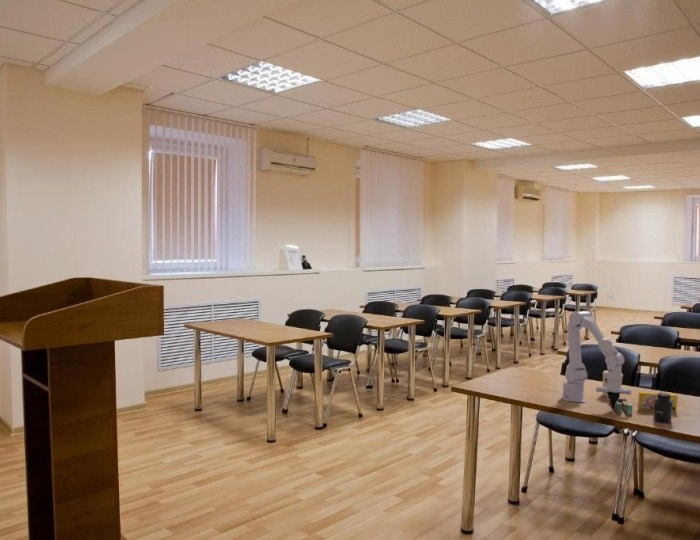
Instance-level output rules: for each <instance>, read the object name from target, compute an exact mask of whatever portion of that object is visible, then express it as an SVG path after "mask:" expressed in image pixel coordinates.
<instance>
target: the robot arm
mask: <svg viewBox="0 0 700 540" xmlns="http://www.w3.org/2000/svg"><path fill="white" fill-rule="evenodd" d="M583 328H584V329H588V330H589V333H591V335H592V336H593V337H594V338H595V340H596V342H598V343H597V347H598V348H599V350H600V351H601V353H602V354H603V357H605V359H604V361H605V363H606V365H607V366H606V368H607V370H608V373H607V387H603V386H596V388H595V391H596V393H603V392H607V394H608V397H607V398H608V399H609V401H610V403H611V405H610V408H611V410H614V407H615V404H616V402H617V400H618V398H621V397H620V396H621V395H628V396H632V390H631V389H626V388H622V384H621V373H622V367H623V366H622V365H624V363H625V356H624V355H623V354H622V353H621V352H619V351H618V350H617V349H616V348H615V346H614V345H613V342H612V340H610V339H608V338H606V337H605V336H604V334H603V332H602V331H601V329H600V328H599V326H598V324H597V322H596V319H595V317H594V316H593V314H592V312H590V311H589V310H585V311H574V312H572V313H570V314H569V316H568V323H567V327H566V330H567V343H568V357H569V359H568V360H569V363H568V364H567V365H566V369H565V373H564V376H565V377H564V378H565V380H566V381H565V380H564V381H563V382H562V383H563V385H562V399H563V401H565V402H573V403H585V402H586V401H585V399H584V389H585V388H584V387H585V381H586V380H587V379H588V372H587V369H586V365H585V364H584V363H583V362H582V348H581V347H582V346H581V333H580V331H581V330H582V329H583ZM619 394H620V395H619Z"/></svg>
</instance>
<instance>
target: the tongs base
mask: <svg viewBox="0 0 700 540" xmlns="http://www.w3.org/2000/svg"><path fill="white" fill-rule="evenodd" d="M617 401H618V402H620V403H622V411H624V412H625V414H626V413H627V414H628V415H629V416H632V415H633V404H632V403H628V401H627V398H624V397H619V398H618V400H617ZM608 403H609V405H610V406H611V403H610V400H609V402H608ZM627 414H626V415H627Z"/></svg>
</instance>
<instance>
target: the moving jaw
mask: <svg viewBox="0 0 700 540" xmlns="http://www.w3.org/2000/svg"><path fill="white" fill-rule="evenodd" d="M613 410H614V411H615V413H616V414H617V413H619V414H618V415H622V413H623V412H622V411H623V408H622V403H620V402H618V401H617V402H616V404H615V407H614V409H613Z"/></svg>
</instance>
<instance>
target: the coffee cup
mask: <svg viewBox="0 0 700 540" xmlns="http://www.w3.org/2000/svg"><path fill="white" fill-rule="evenodd" d="M607 373H608V369H607V370H604V371H602V387H607ZM623 377H624V374H623V373H622V372H621V385H622V384H623ZM602 395H603V396H605V397H607V398H609V397H608V394H607V392H602ZM619 395H620V396H621V394H619Z"/></svg>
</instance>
